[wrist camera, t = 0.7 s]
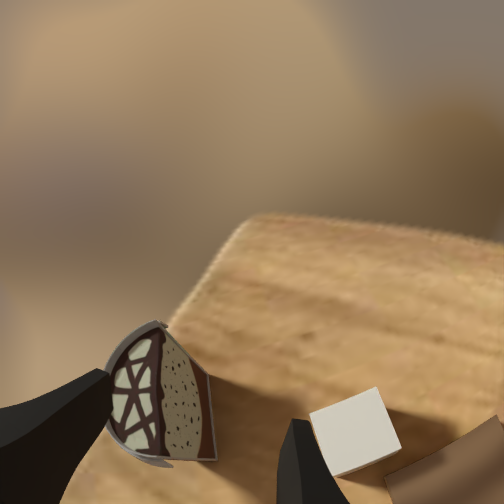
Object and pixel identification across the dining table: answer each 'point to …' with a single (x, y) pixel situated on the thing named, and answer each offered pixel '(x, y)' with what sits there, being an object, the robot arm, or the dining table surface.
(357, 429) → the ceramic block
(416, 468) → the block
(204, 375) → the food container
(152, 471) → the dining table surface
